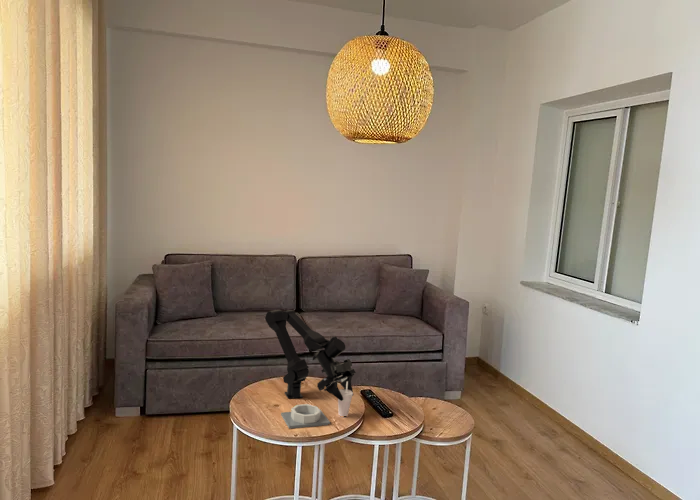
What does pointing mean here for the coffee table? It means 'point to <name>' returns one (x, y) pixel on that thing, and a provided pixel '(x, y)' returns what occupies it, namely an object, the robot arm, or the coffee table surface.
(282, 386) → the coffee table surface
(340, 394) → the robot arm
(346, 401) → the smoothie
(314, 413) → the bottle stand
